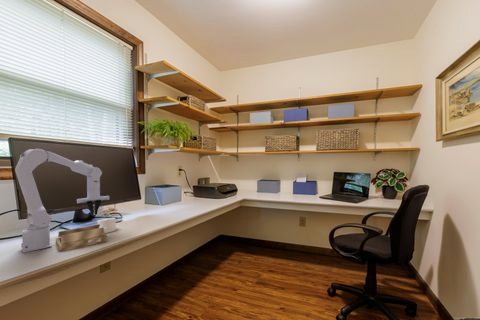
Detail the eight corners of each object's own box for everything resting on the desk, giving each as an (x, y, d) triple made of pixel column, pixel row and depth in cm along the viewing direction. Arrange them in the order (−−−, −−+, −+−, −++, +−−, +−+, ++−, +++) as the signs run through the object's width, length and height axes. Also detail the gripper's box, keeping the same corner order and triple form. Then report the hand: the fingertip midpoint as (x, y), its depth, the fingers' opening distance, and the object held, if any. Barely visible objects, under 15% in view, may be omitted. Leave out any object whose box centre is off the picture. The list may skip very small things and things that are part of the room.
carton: (58, 252, 97) (58, 245, 97) (55, 244, 106) (55, 237, 106) (107, 241, 110) (107, 234, 110) (100, 235, 119) (100, 228, 119)
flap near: (61, 244, 98) (61, 243, 98) (60, 235, 100) (60, 235, 100) (104, 234, 109) (104, 234, 109) (103, 227, 111) (103, 227, 111)
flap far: (58, 232, 105) (58, 231, 105) (58, 237, 107) (58, 236, 107) (99, 224, 116) (99, 224, 116) (98, 229, 118) (98, 228, 118)
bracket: (111, 229, 133) (110, 217, 133) (119, 229, 128) (118, 217, 129) (71, 239, 116) (70, 226, 117) (78, 240, 111) (77, 226, 112)
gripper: (78, 191, 112) (78, 218, 112) (110, 188, 122) (111, 213, 123) (75, 190, 117) (76, 216, 118) (107, 187, 127) (107, 211, 128)
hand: (93, 214), depth 120 cm, fingers closed
